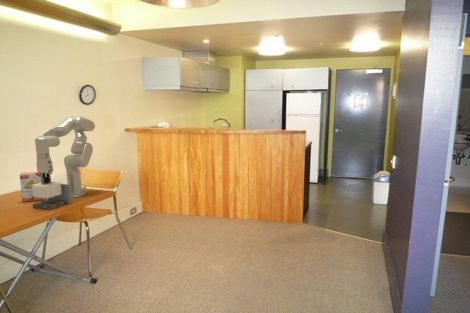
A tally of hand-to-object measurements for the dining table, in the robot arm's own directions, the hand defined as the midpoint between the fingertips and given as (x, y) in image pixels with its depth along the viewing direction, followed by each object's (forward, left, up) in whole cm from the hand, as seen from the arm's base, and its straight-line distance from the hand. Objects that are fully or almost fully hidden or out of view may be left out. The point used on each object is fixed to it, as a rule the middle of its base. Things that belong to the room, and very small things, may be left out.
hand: (46, 182), depth 218 cm
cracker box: (-8, -23, -17) cm, 30 cm away
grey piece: (-2, 0, -17) cm, 17 cm away
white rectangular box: (0, 0, -9) cm, 9 cm away
